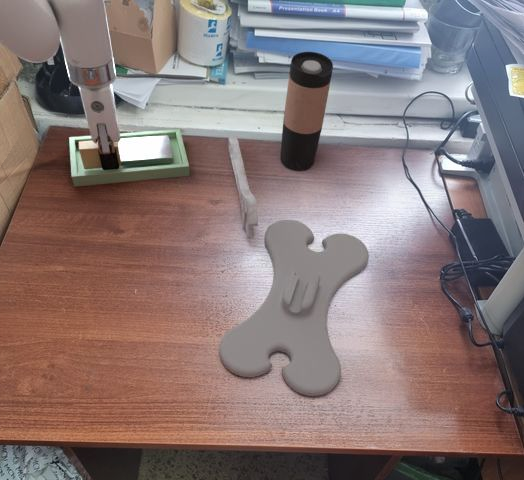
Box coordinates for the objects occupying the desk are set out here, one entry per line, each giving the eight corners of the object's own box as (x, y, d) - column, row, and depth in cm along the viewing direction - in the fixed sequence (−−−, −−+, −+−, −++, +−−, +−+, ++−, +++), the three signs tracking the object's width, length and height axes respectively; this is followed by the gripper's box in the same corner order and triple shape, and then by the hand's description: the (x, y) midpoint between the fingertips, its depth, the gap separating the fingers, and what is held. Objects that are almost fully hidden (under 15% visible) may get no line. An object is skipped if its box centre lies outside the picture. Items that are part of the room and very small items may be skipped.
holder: (211, 369, 77) (210, 351, 73) (271, 220, 95) (274, 200, 91) (332, 404, 75) (339, 389, 71) (370, 247, 93) (377, 227, 89)
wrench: (236, 159, 108) (256, 249, 90) (227, 159, 108) (246, 250, 90) (237, 122, 102) (259, 211, 84) (228, 122, 102) (248, 212, 83)
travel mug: (281, 145, 107) (293, 48, 91) (316, 151, 107) (335, 54, 90) (276, 168, 103) (288, 71, 86) (313, 174, 103) (332, 77, 86)
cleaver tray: (74, 186, 96) (71, 176, 94) (71, 147, 102) (68, 137, 100) (189, 175, 100) (189, 166, 98) (180, 138, 106) (179, 128, 104)
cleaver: (168, 140, 103) (167, 120, 99) (173, 162, 100) (172, 142, 96) (82, 146, 100) (77, 126, 96) (84, 169, 96) (79, 149, 93)
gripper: (118, 94, 79) (134, 189, 94) (110, 41, 87) (126, 136, 103) (68, 97, 78) (92, 193, 93) (65, 42, 86) (87, 139, 101)
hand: (110, 162), depth 98 cm, fingers closed on cleaver, 2 cm apart
